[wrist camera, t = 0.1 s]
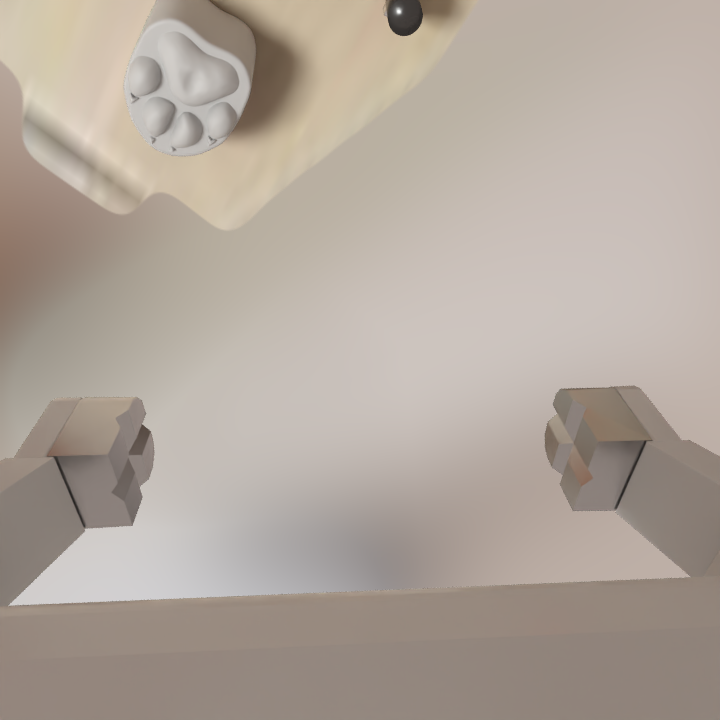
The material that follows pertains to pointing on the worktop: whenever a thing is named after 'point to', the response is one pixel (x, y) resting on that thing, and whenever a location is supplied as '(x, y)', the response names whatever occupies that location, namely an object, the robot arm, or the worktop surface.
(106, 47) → the worktop surface
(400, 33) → the crank
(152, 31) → the grey animal paw
